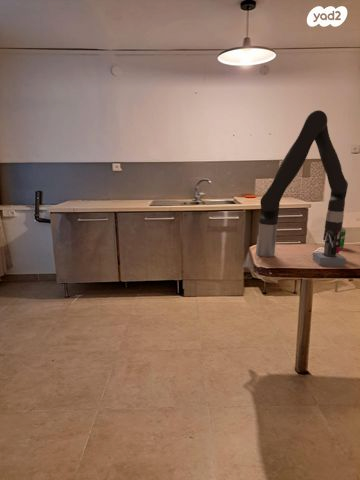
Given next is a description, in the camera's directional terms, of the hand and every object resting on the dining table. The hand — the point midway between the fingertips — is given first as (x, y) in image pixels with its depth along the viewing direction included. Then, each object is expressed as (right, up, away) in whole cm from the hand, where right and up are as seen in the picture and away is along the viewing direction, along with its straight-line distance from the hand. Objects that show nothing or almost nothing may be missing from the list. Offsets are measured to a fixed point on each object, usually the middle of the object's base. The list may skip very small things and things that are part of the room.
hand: (329, 252), depth 155 cm
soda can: (+18, +1, +30) cm, 35 cm away
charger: (0, -5, +1) cm, 6 cm away
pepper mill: (+6, -3, +11) cm, 13 cm away
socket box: (0, -5, +1) cm, 6 cm away
